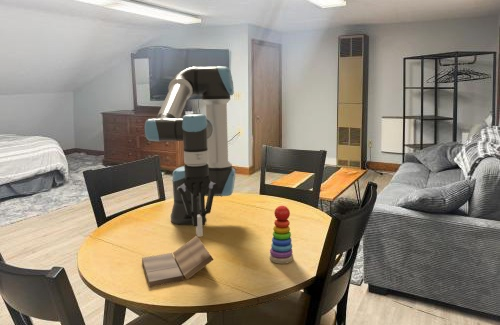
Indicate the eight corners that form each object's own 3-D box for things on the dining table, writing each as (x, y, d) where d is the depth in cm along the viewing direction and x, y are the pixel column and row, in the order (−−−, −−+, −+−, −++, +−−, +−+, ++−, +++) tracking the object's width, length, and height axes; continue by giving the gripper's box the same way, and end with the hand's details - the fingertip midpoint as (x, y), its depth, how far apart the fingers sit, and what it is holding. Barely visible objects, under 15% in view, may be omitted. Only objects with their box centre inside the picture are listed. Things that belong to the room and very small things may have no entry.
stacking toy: (292, 265, 137) (292, 210, 133) (268, 264, 138) (267, 209, 135) (294, 255, 145) (294, 203, 141) (271, 254, 146) (270, 202, 142)
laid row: (142, 262, 141) (141, 257, 141) (171, 257, 145) (171, 252, 144) (149, 287, 125) (149, 281, 124) (183, 280, 128) (182, 275, 128)
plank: (175, 256, 145) (172, 252, 144) (199, 239, 147) (196, 235, 146) (187, 279, 129) (183, 275, 128) (213, 259, 130) (210, 255, 130)
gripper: (178, 167, 126) (182, 242, 131) (219, 164, 131) (222, 235, 135) (173, 163, 133) (177, 234, 138) (213, 160, 138) (215, 228, 142)
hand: (199, 234), depth 137 cm, fingers closed
